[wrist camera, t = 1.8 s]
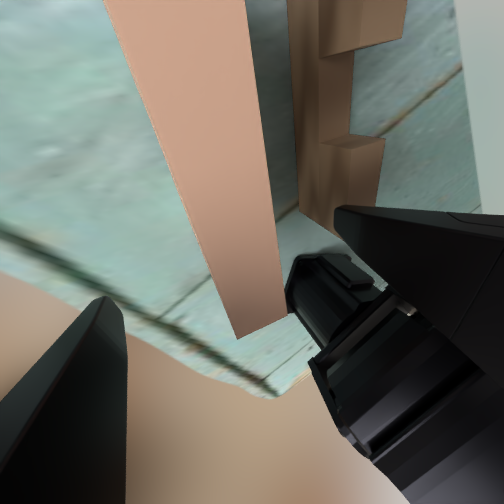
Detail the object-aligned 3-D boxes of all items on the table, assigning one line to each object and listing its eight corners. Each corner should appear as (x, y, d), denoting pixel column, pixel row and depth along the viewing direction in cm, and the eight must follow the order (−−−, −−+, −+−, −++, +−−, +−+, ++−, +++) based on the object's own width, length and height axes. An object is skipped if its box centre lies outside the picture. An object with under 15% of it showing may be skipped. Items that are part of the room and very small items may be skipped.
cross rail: (321, 203, 18) (371, 230, 14) (299, 211, 17) (344, 241, 14) (322, -99, 10) (445, -240, 6) (280, -97, 9) (382, -247, 5)
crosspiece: (221, 219, 15) (287, 315, 8) (193, 230, 15) (237, 339, 8) (149, -26, 9) (171, -535, 2) (95, -20, 8) (-147, -655, 1)
